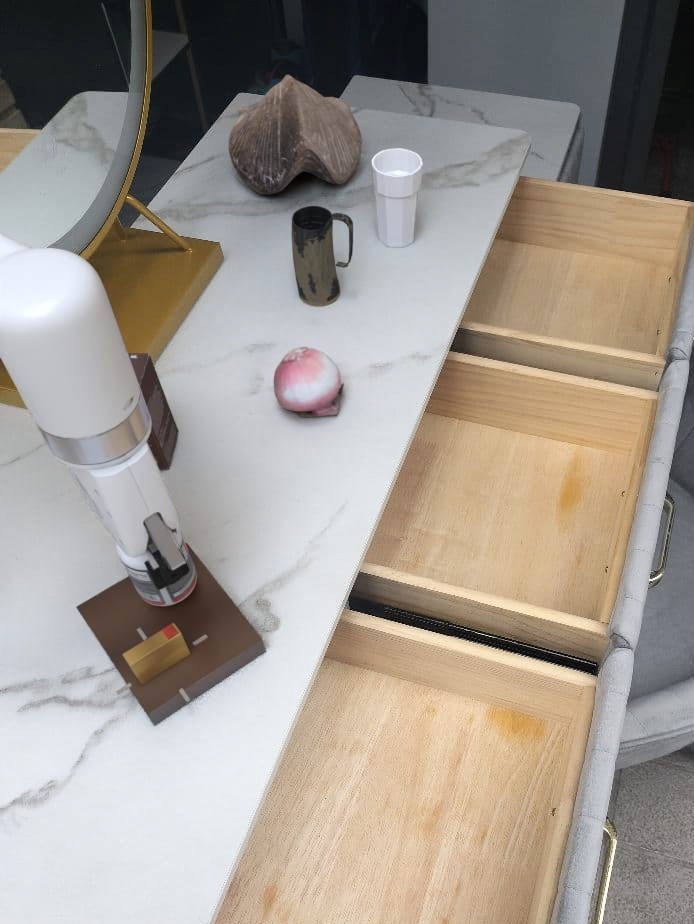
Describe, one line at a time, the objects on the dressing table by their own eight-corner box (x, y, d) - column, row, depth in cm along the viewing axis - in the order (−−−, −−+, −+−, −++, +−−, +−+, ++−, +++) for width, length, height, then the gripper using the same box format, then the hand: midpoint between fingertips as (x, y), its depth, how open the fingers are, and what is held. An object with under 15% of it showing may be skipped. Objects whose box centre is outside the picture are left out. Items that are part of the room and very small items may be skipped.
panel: (73, 625, 79) (64, 612, 77) (191, 555, 84) (185, 540, 82) (149, 742, 72) (141, 731, 70) (272, 659, 77) (269, 646, 75)
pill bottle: (191, 550, 80) (167, 487, 71) (204, 597, 77) (181, 537, 68) (132, 567, 78) (101, 505, 70) (142, 616, 75) (112, 557, 67)
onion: (317, 370, 99) (312, 324, 93) (358, 405, 96) (355, 359, 90) (264, 401, 96) (255, 355, 90) (304, 438, 93) (297, 393, 87)
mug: (290, 301, 107) (280, 219, 97) (306, 275, 110) (297, 193, 100) (348, 313, 105) (343, 231, 95) (361, 287, 108) (358, 205, 98)
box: (140, 430, 94) (109, 350, 84) (179, 431, 93) (153, 351, 84) (128, 470, 90) (95, 392, 80) (168, 472, 90) (140, 394, 80)
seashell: (213, 99, 119) (268, 41, 108) (305, 126, 130) (364, 76, 119) (230, 205, 119) (287, 158, 108) (321, 223, 130) (382, 181, 119)
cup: (413, 219, 117) (414, 145, 108) (426, 246, 113) (428, 172, 104) (368, 226, 116) (366, 152, 107) (380, 254, 112) (378, 180, 103)
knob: (141, 685, 73) (129, 664, 69) (134, 674, 73) (121, 652, 70) (191, 654, 75) (180, 632, 71) (183, 643, 75) (172, 621, 72)
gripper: (-5, 373, 61) (73, 516, 76) (101, 519, 54) (165, 645, 69) (87, 331, 64) (145, 477, 79) (200, 464, 56) (241, 597, 71)
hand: (154, 554), depth 73 cm, fingers closed on pill bottle, 5 cm apart
